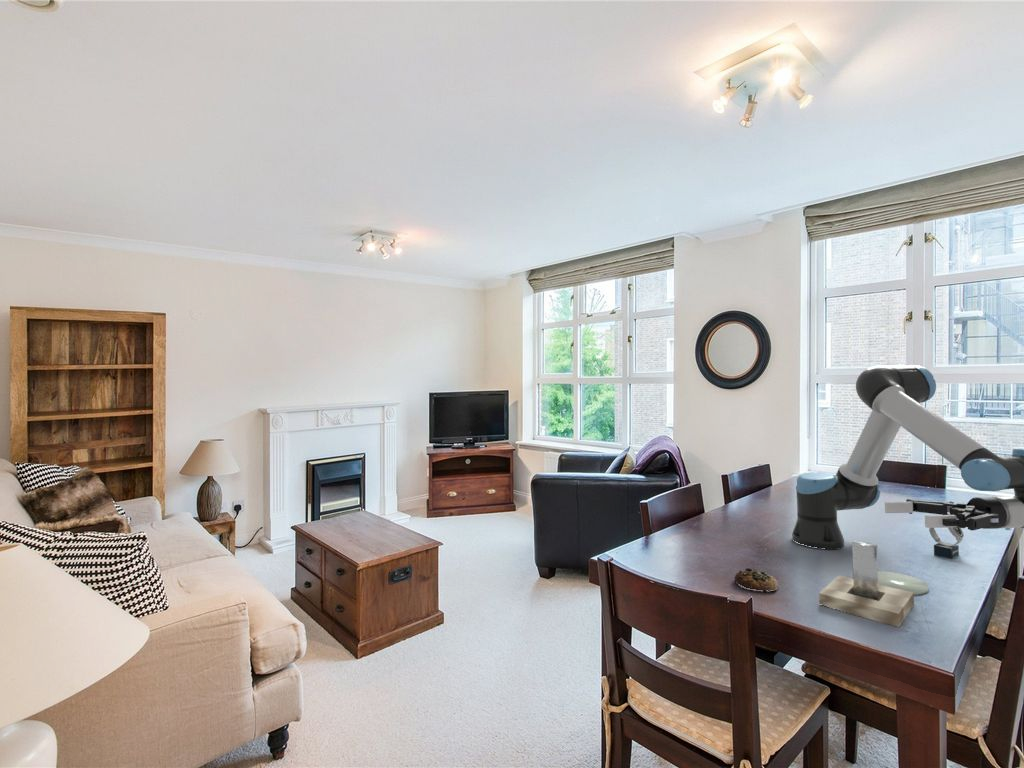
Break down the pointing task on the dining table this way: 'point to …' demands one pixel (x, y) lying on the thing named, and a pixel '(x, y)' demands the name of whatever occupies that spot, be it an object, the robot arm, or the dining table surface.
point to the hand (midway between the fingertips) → (904, 514)
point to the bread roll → (756, 580)
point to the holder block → (868, 601)
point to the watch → (947, 548)
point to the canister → (865, 570)
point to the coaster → (902, 582)
